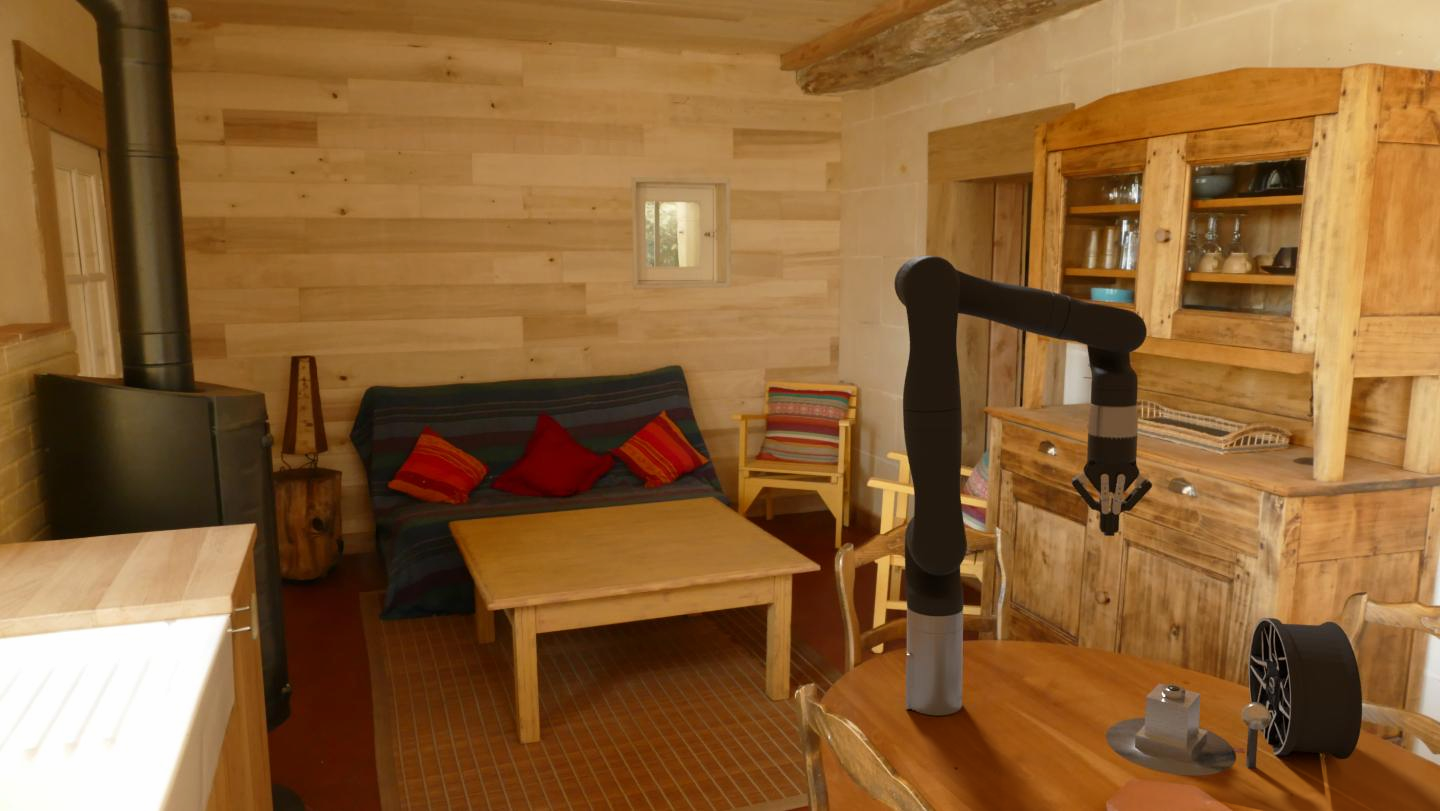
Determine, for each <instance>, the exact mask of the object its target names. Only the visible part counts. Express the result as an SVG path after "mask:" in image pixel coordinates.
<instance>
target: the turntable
mask: <svg viewBox="0 0 1440 811" xmlns="http://www.w3.org/2000/svg"><path fill="white" fill-rule="evenodd" d="M1144 725H1145V717H1138V718H1129V719H1125V720H1122V721H1119V722H1116V723H1115V724H1112V725H1111V726H1109V728H1108V730H1107V731H1106V736H1105V739H1106V742H1107V744H1108V745H1109V747H1110V749H1112V751H1114V752H1115V753H1117V755H1119V757H1120V756H1121V757H1122V758H1123V759H1125V760H1128V761H1129V762H1131V763H1132V764H1136V765H1137V766H1140V767H1144V768H1147V769H1148V770H1153V771H1156V772H1160V773H1161V772H1162V773H1166V774H1171V775H1179V776H1209V775H1214V774H1218V773H1222V772H1224V771H1227V770H1228V769H1230V768H1231V767H1233V765H1234V764H1235V762H1236V760H1237V756H1236V755H1237V754H1236V753H1246V751H1245V750H1244V747H1243V748H1242V747H1233V746H1232V745H1231V744H1230V743H1229V742H1228V741H1227V740H1225V739H1224V738H1223V737H1221V736H1219V735H1218V734H1216V733H1214V732H1213V731H1211V730H1208V729H1206V728H1204V727H1201V726H1199V728H1200V729H1204V730H1207V743H1206V745H1205V746H1204V747H1203V748H1202V750H1201V751H1200V752H1199V754H1198V755H1197V756H1196V758H1195V759H1194V760H1193V762H1192V763H1187V762H1184V761H1180V760H1177V759H1173V758H1170V757H1166V756H1163V755H1160V754H1156V753H1153V752H1149V751H1146V750H1142V749H1139V748H1135V735H1136V734H1137V733H1138V732H1139V731H1140V729H1141V728H1142V727H1143V726H1144Z"/></svg>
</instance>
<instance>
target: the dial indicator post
mask: <svg viewBox="0 0 1440 811" xmlns="http://www.w3.org/2000/svg"><path fill="white" fill-rule="evenodd" d="M1241 718H1242V720H1243V721H1244V723H1245V725H1246V726H1247V727H1248V728H1247V742H1246V743H1247V745H1246V760H1245V761H1246V763H1245V766H1246V767H1247V769H1250V770H1251V769H1252V770H1256V768H1257V766H1256V765H1257V754H1258V753H1257V751H1258V736H1259V735H1258V734H1259V731H1260V730H1262V729H1265V728H1266V727H1268V726H1269V724H1270V723H1271V719H1272V718H1271V714H1270V712H1269V711H1268V709H1267V708H1266V707H1265V706H1264V705H1263V704H1261V703H1257V702H1251V701H1250V702H1249V703H1247V704H1246V705H1245V706H1243V708H1242V710H1241Z"/></svg>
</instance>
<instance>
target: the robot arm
mask: <svg viewBox="0 0 1440 811" xmlns="http://www.w3.org/2000/svg"><path fill="white" fill-rule="evenodd" d="M894 290H895V294H896V296H897V299H898V300H899V301H900V303H901V304H902V305H903V306H904V307H905V310H906V318H907V325H908V334H909V335H908V336H909V354H908V361H907V366H906V371H905V377H904V383H903V384H904V385H903V391H902V392H903V394H902V395H903V396H902V413H903V414H902V418H903V432H904V433H903V435H904V444H905V448H906V449H905V451H906V456H907V462H908V466H909V469H910V475H911V479H912V485H913V493H914V506H913V507H914V508H913V509H914V510H913V511H914V512H913V516H912V517H911V519H910V520H909V522H908V523H907V526H906V529H905V535H904V573H905V574H904V582H905V590H906V655H905V709H906V708H907V709H906V710H908V709H912V710H911V711H914V710H915V711H914V712H917V713H920V714H923V715H929V716H949V715H952V714H955V713H957V712H958V711H960V710H961V709H962V705H963V657H964V656H963V653H964V652H963V648H964V647H963V645H964V644H963V641H964V640H963V639H964V591H963V584H962V577H961V565H962V564H963V561H964V560H965V557H966V554H967V552H968V551H967V550H968V540H967V535H966V529H965V522H964V516H963V505H962V497H961V477H962V476H961V474H962V473H961V472H962V455H963V454H962V453H963V452H962V450H963V449H962V447H963V446H962V444H963V440H962V438H963V437H962V436H963V425H962V424H963V420H962V418H963V417H962V416H963V415H962V396H961V383H960V381H961V380H960V369H959V360H958V359H959V358H958V349H957V348H958V346H957V339H958V337H957V336H958V335H957V334H958V333H957V332H958V321H959V320H958V318H959V314H961V315H965V316H966V315H967V316H971V317H976V318H980V319H985V320H988V321H991V322H995V323H998V324H1001V325H1005V326H1008V327H1010V328H1013V329H1017V330H1019V331H1020V330H1021V331H1024V332H1027V333H1030V334H1036V335H1040V336H1044V337H1048V338H1051V339H1056V340H1060V341H1061V340H1062V341H1069V342H1076V343H1080V344H1083V345H1086V347H1087V353H1088V355H1087V356H1088V360H1089V367H1090V373H1091V383H1090V407H1089V412H1088V422H1087V453H1086V454H1087V456H1086V457H1087V458H1086V463H1085V465H1084V467H1083V471H1082V473H1080V474H1078V475H1077V476H1072V477H1071V478H1070V480H1069V481H1070V483H1071V486H1072V487H1073V488H1074V489H1075V490H1076V491H1077V493H1078V494H1079V496H1080V497H1081V498H1082V499H1083V501H1084V502H1085V503H1086V505H1088V507H1089V508H1090V509H1091V510H1094V511H1097V512H1098V513H1099V519H1098V520H1099V521H1098V522H1099V524H1098V525H1099V526H1098V527H1099V530H1100V531H1101V533H1103V535H1104V536H1105V537H1114V536H1115V533H1118V532H1119V530H1120V516H1121V513H1123V512H1125V511H1127V512H1130V511H1132V510H1133V508H1134V507H1135V506H1136V505H1137V504H1138V503H1139V502H1140V501H1141V500H1142V499H1143V498H1144V497H1145V496H1146V494H1148V492H1149V491H1150V490H1151V489H1152V487H1153V483H1151V481H1150V480H1149V479H1148V478H1145V477H1144V476H1142V475H1141V474H1140V469H1139V467H1138V466H1137V465H1138V464H1137V455H1138V454H1137V453H1138V451H1137V450H1138V449H1137V448H1138V429H1139V426H1138V425H1139V416H1138V405H1137V404H1138V385H1139V384H1138V383H1139V382H1138V374H1137V372H1136V370H1135V369H1134V368H1133V366H1132V364H1131V357H1130V355H1131V354H1130V353H1132V352H1134V351H1136V350H1138V349H1139V348H1140V347H1141V346H1142V345H1143V344H1144V342H1145V341H1146V338H1147V334H1148V330H1147V326H1146V322H1145V321H1144V320H1143V317H1141V316H1140V314H1138V313H1136V312H1134V311H1132V310H1130V309H1126V308H1120V307H1115V306H1111V305H1105V304H1099V303H1094V302H1087V301H1084V300H1082V299H1079V298H1075V297H1073V296H1070V295H1065V294H1062V293H1057V292H1054V291H1053V292H1052V291H1049V290H1045V289H1039V288H1036V287H1029V286H1023V285H1019V284H1018V285H1017V284H1009V283H1005V282H999V281H993V280H989V279H985V278H982V277H978V276H974V275H972V274H969V273H965V272H963V271H961V270H958V269H956V268H955V267H954V265H953V264H952V263H951V262H950V261H949V260H948V259H946V258H943V257H941V256H938V255H919V256H915V257H913V258H911V259H908V260H907V261H906V262H904V263H902V265H901V266H900V268H899V269H898V270H897V272H896V275H895V277H894ZM1087 480H1088V481H1089V482H1090V484H1091V485H1092V486H1093V488H1094V489H1095V490H1096V492H1098V493H1097V494H1098V501H1097V500H1095V499H1094V497H1093V496H1092V495H1091V494H1090V493H1089V491H1088V490H1087V489H1086V488H1087V487H1088V483H1087ZM1133 483H1134V488H1133V490H1131V491H1130V493H1129V494H1128V495H1127V496H1126V497H1125V498H1123V497H1124V492H1127V490H1128V489H1129V488H1130V487H1131V485H1132V484H1133ZM1123 499H1124V500H1123Z"/></svg>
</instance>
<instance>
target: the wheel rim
mask: <svg viewBox="0 0 1440 811" xmlns="http://www.w3.org/2000/svg"><path fill="white" fill-rule="evenodd" d="M1359 670H1360V669H1359V666H1358V661H1357V658H1356V654H1355V652H1354V649H1353V646H1352V644H1351V640H1350V639H1349V637H1348V636H1347V634H1346V631H1345V630H1344V629H1343V628H1342V627H1341V626H1340V625H1339V624H1338V623H1336V622H1333V621H1325V622H1323V623H1321V624H1318V625H1317V624H1316V625H1315V624H1295V623H1293V624H1291V623H1283V622H1282V621H1280V620H1279V619H1277V618H1273V617H1272V618H1271V617H1263V618H1261V619H1259V621H1257V623H1256V625H1255V626H1254V630H1253V632H1252V634H1251V640H1250V647H1249V654H1248V687H1249V690H1248V691H1249V697H1250V702H1257V703H1261V704H1263V705H1264V706H1265V707H1266V708H1267V709H1268V711H1269V712H1270V714H1271V718H1272V719H1271V723H1270V724H1269V726H1268V727H1266V728H1265V729H1262V730H1259V731H1260V732H1262V734H1263V738H1264V739H1266V740H1267V741H1266V743H1267V744H1269V745H1272V749H1273V750H1272V753H1273V754H1274V756H1287V755H1289V754H1290V753H1292V752H1299V753H1300V752H1301V753H1311V754H1313V753H1314V754H1327V755H1328V754H1329V756H1332V757H1333V758H1335V759H1337V760H1346V759H1348V758H1350V756H1352V754H1353V753H1354V752H1355V751H1356V750H1355V749H1356V747H1357V744H1358V742H1359V738H1360V734H1361V728H1362V722H1363V721H1362V720H1363V694H1362V682H1361V676H1360V671H1359Z"/></svg>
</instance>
